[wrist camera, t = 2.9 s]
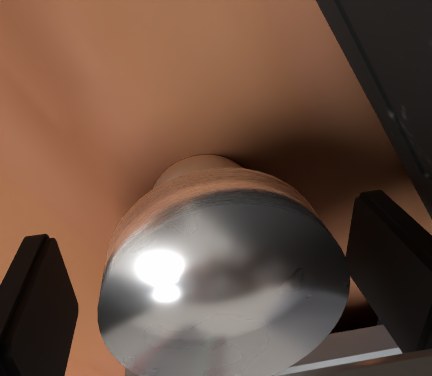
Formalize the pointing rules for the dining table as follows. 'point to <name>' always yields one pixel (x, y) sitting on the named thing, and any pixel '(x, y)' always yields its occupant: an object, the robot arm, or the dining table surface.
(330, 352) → the grey rectangular fixture
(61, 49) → the dining table surface
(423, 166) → the radio cassette player
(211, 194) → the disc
